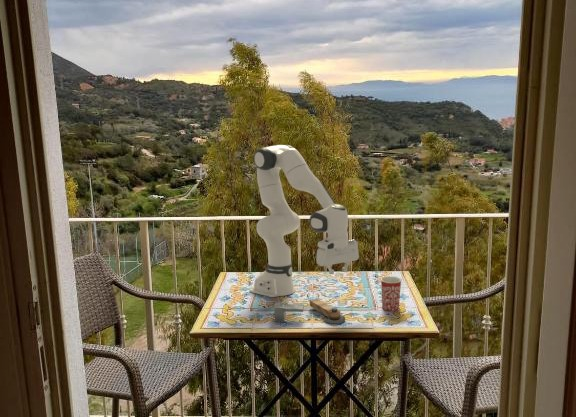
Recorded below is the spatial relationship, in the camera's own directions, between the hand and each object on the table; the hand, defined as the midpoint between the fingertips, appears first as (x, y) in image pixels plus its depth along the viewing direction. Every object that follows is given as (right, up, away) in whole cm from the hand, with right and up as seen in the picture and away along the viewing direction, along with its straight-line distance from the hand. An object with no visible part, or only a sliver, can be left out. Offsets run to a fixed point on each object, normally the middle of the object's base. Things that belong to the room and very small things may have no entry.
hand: (338, 272), depth 232 cm
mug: (+24, -16, +5) cm, 29 cm away
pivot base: (-2, -19, -9) cm, 21 cm away
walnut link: (-6, -17, -3) cm, 18 cm away
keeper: (-21, -19, -6) cm, 29 cm away
